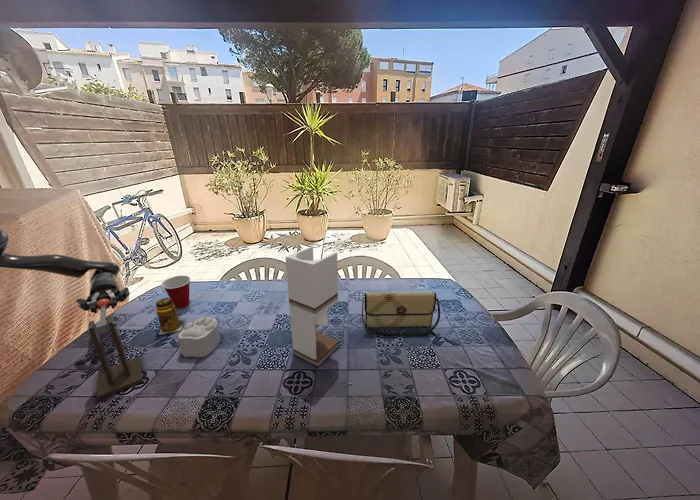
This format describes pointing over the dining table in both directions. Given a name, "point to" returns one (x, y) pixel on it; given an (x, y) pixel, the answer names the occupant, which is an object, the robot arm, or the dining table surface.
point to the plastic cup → (178, 290)
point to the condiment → (168, 316)
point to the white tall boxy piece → (311, 302)
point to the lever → (102, 316)
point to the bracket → (118, 374)
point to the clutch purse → (399, 311)
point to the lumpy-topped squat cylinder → (199, 337)
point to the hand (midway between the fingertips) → (103, 308)
